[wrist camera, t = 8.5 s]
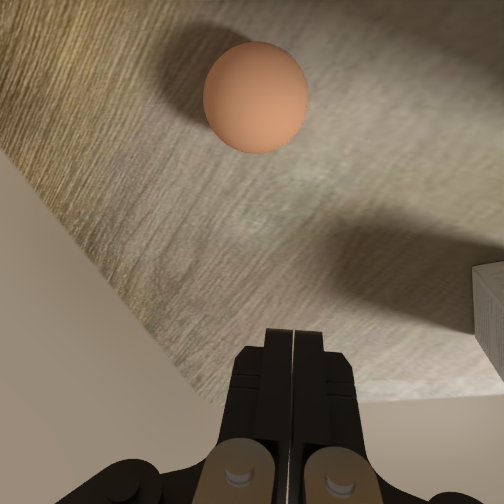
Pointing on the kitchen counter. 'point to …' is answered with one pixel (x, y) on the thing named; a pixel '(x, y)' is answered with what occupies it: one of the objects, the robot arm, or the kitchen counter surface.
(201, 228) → the kitchen counter surface
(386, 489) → the robot arm
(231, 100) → the orange sphere
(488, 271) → the skincare box
